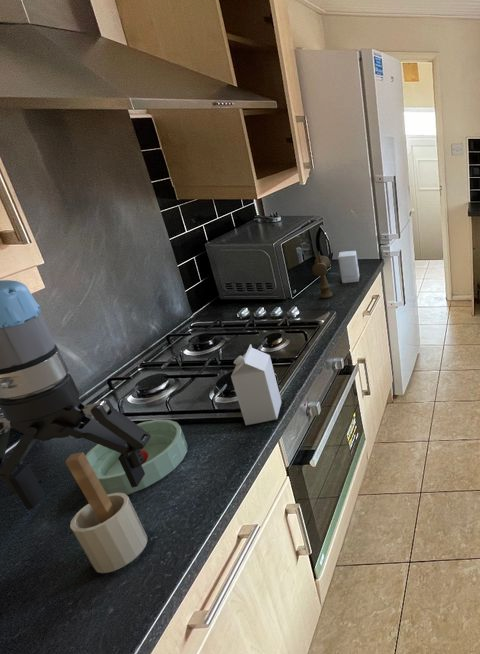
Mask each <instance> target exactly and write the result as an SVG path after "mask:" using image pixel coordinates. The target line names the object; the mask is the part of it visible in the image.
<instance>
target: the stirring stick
mask: <svg viewBox="0 0 480 654" xmlns="http://www.w3.org/2000/svg"><path fill="white" fill-rule="evenodd" d="M64 462H65V464H66V466H67V468H68V470H69V471H70V474H71V475H72V477H73V478H74V480H75V482H76V483H77V485H78V487H79V488H80V490H81V492H82V494H83V496H84V497H85V499H86V501H87V503H88V504H90V506H91V507H92V509H93V511H94V512H95V514H96V516H97V518H98V519H99V521H100V523H103V522H105V521H106V520H108V519H109V518H111V517H112V516H114V515H115V514H116V513H117V512H116V510H115V509H114V507H113V505H112V503H111V501H110V500H109V498H108V496H107V494H106V492H105V490H104V489H103V487H102V485H101V483H100V481H99V480H98V478H97V476H96V474H95V472H94V471H93V469H92V467H91V465H90V463H89V461H88V460H87V458H86V454H85V452H83V451H81V452H76V453H71V454H70V455H69V456H68V458H67V459H66V460H65V461H64Z"/></svg>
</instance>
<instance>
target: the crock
mask: <svg viewBox="0 0 480 654" xmlns="http://www.w3.org/2000/svg"><path fill="white" fill-rule="evenodd" d="M107 496H108V498H109V500H110V501H111V503H112V505H113V507H114V509H115V510H116V512H117V513H116V514H115V515H114V516H112V517H111V518H109V519H108V520H106V521H105V522H103V523H100V521H99V519H98V518H97V516H96V514H95V512H94V511H93V509H92V507H91V506H90V504H89V503H88V504H86V505H84V506H83V507H82V508H80V509H79V510H78V512H76V514H75V515H74V516H73V517H72V519H71V520H70V525H69V528H70V530H71V532H72V535H74V538H75V539H76V541H77V543H78V544H79V546H80V548H81V549H82V551H83V554H84V555H85V556H86V558H87V559H88V561H89V563H90V565H91V567H92V568H93V570H94V571H95V572H96V573H98V574H99V573H100V574H107V573H112V572H115V571H117V570H119V569H122V568H124V567H125V566H127V565H128V564H130V563H131V562H133V561H134V560H135V559H137V557H138V556H139V555H140V554H142V552H143V551H144V549H145V548H146V546H147V543H148V535H147V533H146V531H145V529H144V526H143V525H142V523H141V520H140V518H139V516H138V514H137V512H136V510H135V508H134V506H133V503H132V502H131V499H130V498H129V496H128V495H126V494H125V493H113V494H108V495H107Z"/></svg>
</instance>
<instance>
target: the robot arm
mask: <svg viewBox="0 0 480 654" xmlns="http://www.w3.org/2000/svg"><path fill="white" fill-rule="evenodd" d="M79 392H80V391H79V389H78V387H77V385H76V383H75V381H74V379H73V377H72V375H71V374H70V373H69V367H68V365H67V363H66V361H65V359H64V357H63V355H62V354H61V351H60V349H59V347H58V346H57V344H56V341H55V339H54V337H53V335H52V333H51V331H50V329H49V326H48V324H47V322H46V319H45V317H44V316H43V313H42V309H41V306H40V304H39V303H38V302H37V301H36V300H35V298H34V296H33V294H32V293H31V291H30V289H29V288H28V286H27V285H26V284H25V283H23V282H21V281H17V280H11V279H10V280H9V279H3V280H2V279H1V280H0V411H1V413H2V414H0V480H3V482H4V484H5V485H6V487H7V489H8V490H9V491H10V492H11V493H16V494H17V495H18V497H19V498H20V501H21V502H22V504H23V506H24V507H25V509H26V510H33V509H35V507H36V506H37V505H38V504H39V502H40V501H42V499H43V498H44V496H45V495H46V493H45V491H44V489H43V488H42V485H41V484H40V482H39V480H38V479H37V477H36V475H35V474H34V472H33V470H32V469H31V467H30V465H29V463H28V464H23V461H24V459H25V458H26V457H27V455H28V454H29V452H30V450H31V449H32V447H33V446H34V444H35V443H36V441H37V440H40V441H41V442H47V441H50V440H52V439H63V438H68V437H69V436H70V437H73V438H75V439H78V440H79V439H85V440H86V441H87V440H88V441H90V442H92V443H95V444H96V445H97V444H99V445H102V446H104V447H107V448H109V449H112V450H114V451H116V452H119V453H121V455H120V456H119V458H118V459H119V461H120V463H121V465H122V467H123V470H124V472H125V474H126V476H127V478H128V480H129V482H130V485H131V487H132V488H133V487H137V486H138V485H139V483H140V481H141V480H142V478H143V476H144V475H145V472H144V470H143V468H142V465H141V464H142V462H143V461H144V457H143V454H142V452H141V450H140V449H143V448H144V446H145V445H146V443H147V442H148V440H149V439H150V437H151V435H150V434H149V433H148V432H146V431H145V430H143V429H142V428H141V427H139V426H138V425H137V424H138V423H135V421H132V420H131V419H129V418H128V416H126V415H124V414H123V413H122V412H120V411H119V410H117V409H116V408H115V407H114V406H113V404H112V402H111V401H110V399H109V398H107V397H102V398H100V399H99V400H98V401H97V402H94V403H90V404H85V403H84V402H82V401H81V399H80V393H79ZM81 424H83V425H84V426H83V427H82V428H80V426H81ZM11 429H13V430H15V431H17V432H19V433H21V434H23V435H22V436H21V437H20V439H19V440H18V442H17V444H16V446H15V448H14V450H13V451H12V452H11V454H10V455H9V457H8V458H7V460H6V461H5V456H6V451H7V448H8V447H7V446H8V444H9V443H8V442H9V438H10V433H11ZM126 444H127V446H126ZM4 461H5V462H4ZM21 464H22V465H21ZM20 465H21V466H20ZM19 466H20V467H19Z"/></svg>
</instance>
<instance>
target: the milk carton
mask: <svg viewBox="0 0 480 654" xmlns="http://www.w3.org/2000/svg"><path fill="white" fill-rule="evenodd" d="M233 364H234V365H235V367H234V369H233V371H232V373H231V375H230V378H231V383H232V385H233V388H234V392H235V395H236V399H237V401H238V404H239V408H240V412H241V415H242V419H243V421H244V424H245V426H250V425H255V424H261V423H266V422H270V421H275V420H278V417H279V413H280V409H281V407H282V403H283V401H282V397H281V393H280V390H279V385H278V382H277V379H276V373H275V371H274V366H273V363H272V359H271V355H270V354H268V353H266V352H263V351H261V350H259V349H256V348H254V347H253V346H252V344H251V343H250V344H249V346H248V348H247V350H246V352H245V353H244V354H243V355H238V356H237V357H236V359H234V360H233Z"/></svg>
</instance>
